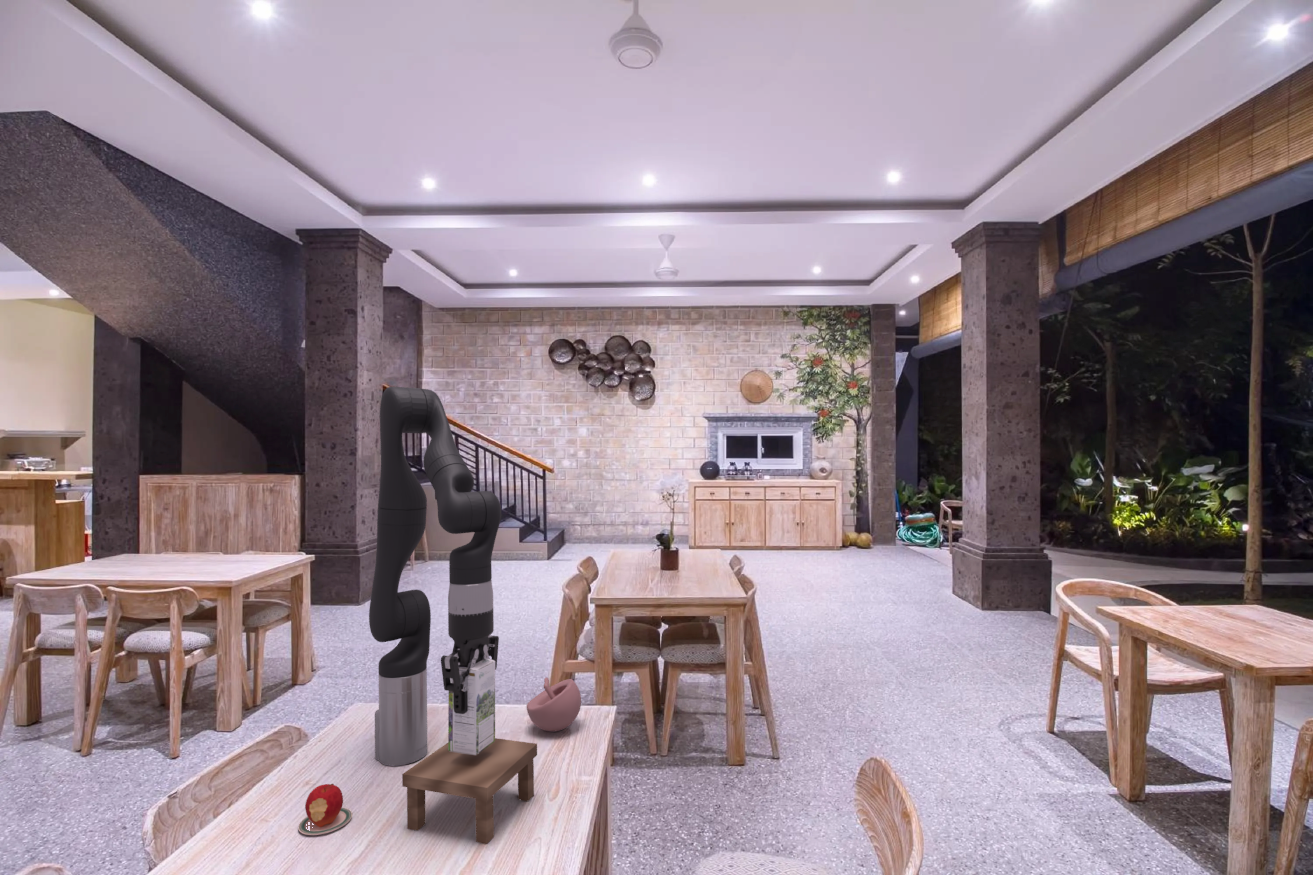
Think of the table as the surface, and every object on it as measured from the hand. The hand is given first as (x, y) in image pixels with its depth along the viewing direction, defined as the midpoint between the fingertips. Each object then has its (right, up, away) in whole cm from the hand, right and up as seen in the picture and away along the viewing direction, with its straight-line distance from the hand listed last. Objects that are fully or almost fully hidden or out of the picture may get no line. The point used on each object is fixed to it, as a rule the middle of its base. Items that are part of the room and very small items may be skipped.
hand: (471, 705), depth 111 cm
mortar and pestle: (+9, -19, +32) cm, 39 cm away
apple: (-24, -19, -3) cm, 30 cm away
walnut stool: (0, -18, -1) cm, 18 cm away
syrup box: (0, -7, 0) cm, 7 cm away
